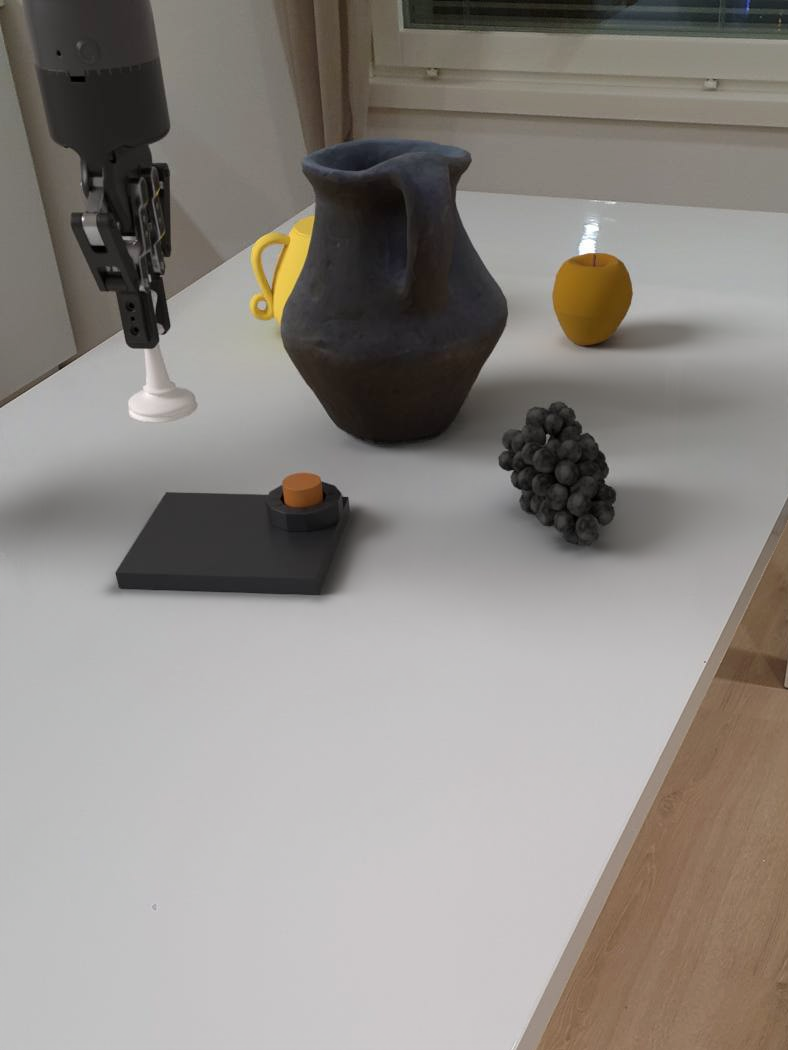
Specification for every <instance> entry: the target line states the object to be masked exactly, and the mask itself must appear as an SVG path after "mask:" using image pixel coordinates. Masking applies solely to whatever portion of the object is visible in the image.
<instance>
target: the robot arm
mask: <svg viewBox="0 0 788 1050" xmlns="http://www.w3.org/2000/svg"><path fill="white" fill-rule="evenodd" d="M21 3H22V11H23V17H24V22H25V27H26V31H27V35H28V36H27V37H28V41H29V45H30V49H31V55H32V59H33V64H34V69H35V73H36V79H37V82H38V87H39V92H40V93H39V94H40V97H41V102H42V106H43V107H42V108H43V110H44V115H45V120H46V125H47V129H48V134H49V136H50V139H51V140H52V141H53V142H54V143H55V144H56V145H57V146H60V147H62V148H64V149H70V150H73V151H74V152H75V153H77V156H78V157H79V159H80V161H79V164H80V190H81V196H82V202H83V204H84V206H85V209H84V211H82V212H80V211H75V212H74V211H73V212H71V214H70V219H69V220H70V223H69V224H70V227H71V231H72V233H73V235H74V237H75V239H76V241H77V243H78V246H79V248H80V250H81V252H82V255H83V257H84V259H85V262H86V263H87V265H88V268H89V271H90V272H91V274H92V277H93V278H94V281H95V283H96V285H97V287H98V290H99V291H100V292H101V293H102V292H104V293H105V292H106V293H108V292H111V293H115V295H116V300H117V305H118V311H119V315H120V321H121V326H122V330H123V336H124V340H125V344H126V345H127V347H129V348H130V349H135V350H136V349H137V350H144V349H153V348H155V347H156V345H157V344H158V343H160V336H164V335H166V334H167V333H168V332H169V331H170V329H171V326H172V325H171V320H170V319H171V318H170V313H169V307H168V302H167V296H166V291H165V284H164V278H163V276H165V274H166V267H167V266H166V265H167V264H166V261H165V258H170V257H171V256H172V255H171V254H172V231H171V228H172V227H171V225H172V224H171V223H172V221H171V182H170V181H171V171H170V167H169V164H168V163H167V162H153V156H152V154H153V153H152V151H151V148H150V145H153V144H155V143H157V142H160V141H162V140H163V139H165V138H166V137H167V136H168V134H169V132H170V130H171V120H170V114H169V107H168V101H167V94H166V89H165V82H164V76H163V69H162V62H161V57H160V50H159V45H158V44H159V43H158V38H157V32H156V24H155V18H154V12H153V7H152V2H151V0H21ZM148 274H149V275H150V276H151V282H150V281H149V276H148ZM149 289H150V290H149ZM151 290H153V291H155V292H156V293H157V303H156V309H155V311H154V306H153V300H152V295H151ZM157 323H158V324H161V325H162V326H163V328H164V332H163V333H162V334H161V335H159V333H158V328H157Z"/></svg>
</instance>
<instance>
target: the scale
mask: <svg viewBox="0 0 788 1050" xmlns="http://www.w3.org/2000/svg"><path fill="white" fill-rule="evenodd" d="M321 482H322V491H323V501H322V502H321V503H319V504H317V505H314V506H309V507H291V506H288V505H286V504H285V502H284V494H283V487H282V484H281V485H279V486H277V487H276V488H274V489H272V490H270V491H269V492H268V494H258V493H256V494H255V493H254V494H253V493H220V492H219V493H217V492H214V493H213V492H182V491H181V492H178V491H166V492H165V493H164V495H163V496H162V498H161V500H160V501H159V502H158V504H157V506H156V507H155V509H154V510H153V512H152V513H151V515H150V516H149V518H148V520H147V522H146V523H145V525H144V526H143V528H142V529H141V531H140V533H139V534H138V535H137V537H136V538H135V540H134V542H133V543H132V545H131V546H130V548H129V550H128V551H127V553H126V554H125V556H124V558H123V559H122V561H121V563H119V566H118V567H117V568H116V570H115V572H114V573H115V577H116V582H117V586H118V588H119V589H133V590H135V589H136V590H139V589H140V590H163V591H164V590H165V591H166V590H167V591H194V592H196V591H197V592H198V591H199V592H229V593H254V594H255V593H257V594H259V593H260V594H287V595H290V594H291V595H319V593H320V590H321V588H322V586H323V583H324V580H325V579H326V575H327V573H328V570H329V567H330V564H331V562H332V560H333V556H334V554H335V551H336V549H337V547H338V544H339V541H340V539H341V537H342V534H343V532H344V528H345V526H346V524H347V520H348V518H349V516H350V512H351V509H350V508H351V507H350V497H349V496H343V494H342V492H341V491H340V490H339V489H338V487H337V486H336V485H334V484H331V483H329V482H326V481H323V480H321Z"/></svg>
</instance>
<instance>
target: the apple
mask: <svg viewBox="0 0 788 1050" xmlns="http://www.w3.org/2000/svg"><path fill="white" fill-rule="evenodd" d="M551 294H552V295H551V297H552V299H551V300H552V305H553V310H554V314H555V316H556V319H557V321H558V323H559V325H560V328H561V329H562V331H563V334H564V335H565V336H566V338H567V339H568V340H569V341H570V342H571V343H573V344H575V345H578V346H590V345H592V346H593V345H597V344H600V343H604V342H605V341H607V340H608V339H610V338H611V337H612V335H614V333H615V332H616V331H617V329H619V326H620V325H621V324H622V322H623V321H624V319H625V318H626V315H627V314H628V312H629V310H630V307H631V305H632V300H633V294H634V291H633V284H632V279H631V276H630V273H629V271H628V269H627V267H626V265H625V263H624V262H623V261H622V260H621V259H619V258H618V257H616V256H615V255H612V254H610V253H602V252H587V253H584V254H579V255H576V256H572V257H570V258H568V259H566V260H565V261H564V262H563V263H562V264H561V266H560V267H559V269H558V271H557V272H556V274H555V279H554V284H553V289H552V293H551Z"/></svg>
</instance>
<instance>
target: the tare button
mask: <svg viewBox="0 0 788 1050" xmlns="http://www.w3.org/2000/svg"><path fill="white" fill-rule="evenodd" d="M321 481H322V478H321V476H319V475H318V474H315V473H312V472H296V473H292V474H289V475H287V476H286V477H284V478H283V480H282V482H281V485H282V487H283V494H284V502H285V504H286V505H288V506H291V507H309V506H314V505H317V504H319V503H321V502H322V501H323V491H322V482H321Z"/></svg>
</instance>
